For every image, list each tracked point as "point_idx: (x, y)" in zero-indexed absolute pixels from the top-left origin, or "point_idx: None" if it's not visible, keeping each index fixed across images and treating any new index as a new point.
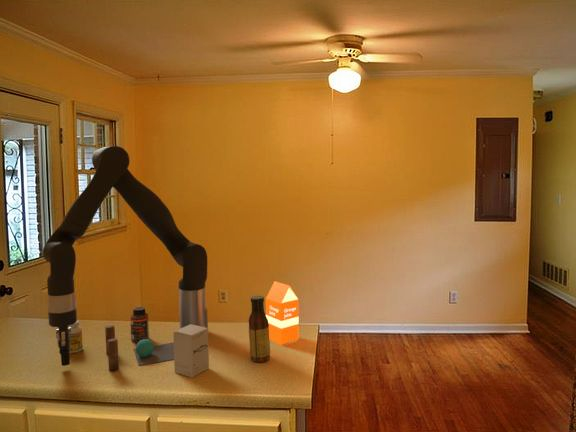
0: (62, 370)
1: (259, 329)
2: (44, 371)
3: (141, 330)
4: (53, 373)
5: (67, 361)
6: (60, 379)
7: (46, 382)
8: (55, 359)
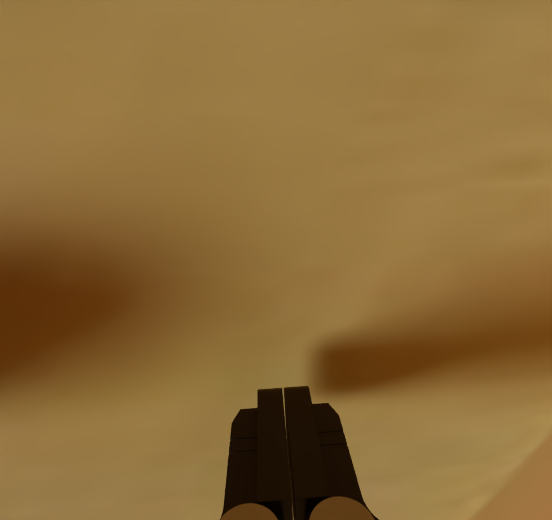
0: None
1: None
2: None
3: None
4: None
5: (340, 427)
6: (472, 397)
7: (470, 474)
8: (23, 474)
